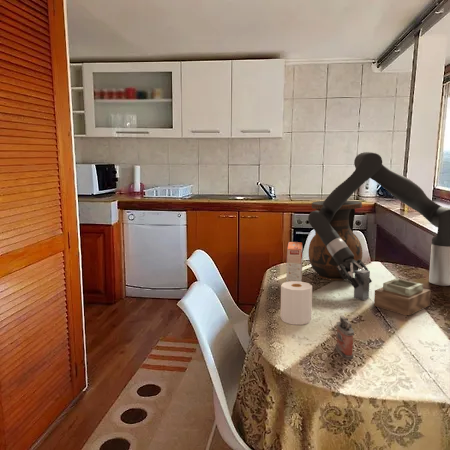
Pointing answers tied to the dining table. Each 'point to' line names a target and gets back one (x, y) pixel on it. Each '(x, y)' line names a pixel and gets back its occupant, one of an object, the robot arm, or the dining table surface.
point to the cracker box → (294, 262)
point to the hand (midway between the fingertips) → (363, 285)
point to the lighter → (345, 338)
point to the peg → (362, 284)
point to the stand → (402, 296)
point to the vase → (344, 227)
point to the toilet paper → (296, 302)
